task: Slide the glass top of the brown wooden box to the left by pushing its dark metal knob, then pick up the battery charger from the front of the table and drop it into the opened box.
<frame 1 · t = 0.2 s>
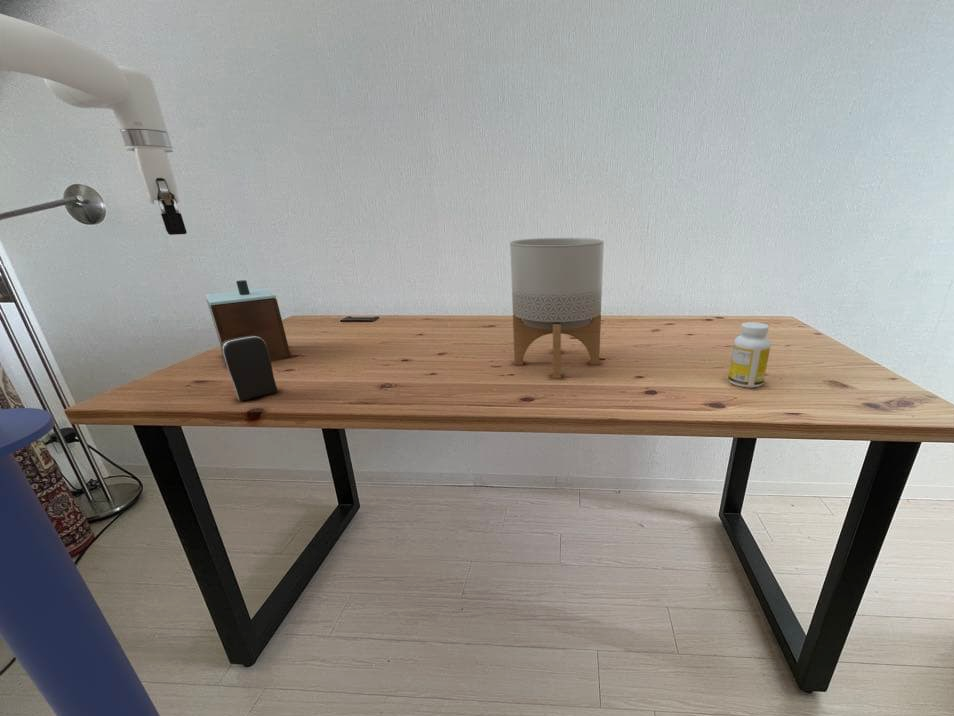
hand: (176, 233, 98), 28 cm above the table, tool pointing down, fingers open, 9 cm apart
brown wooden box: (257, 356, 110), on the table
planter: (556, 364, 102), on the table
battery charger: (257, 396, 88), on the table
pill bottle: (744, 383, 90), on the table
lid: (238, 289, 104), point 16 cm above the table, slide at 0.0 cm
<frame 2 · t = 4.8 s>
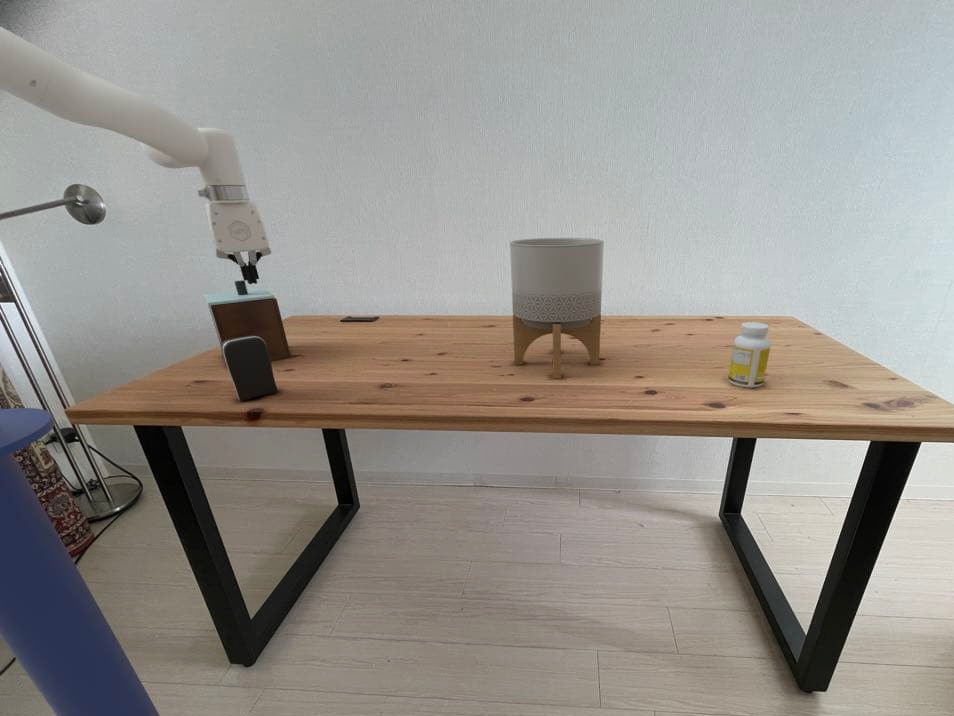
hand: (252, 283, 105), 17 cm above the table, tool pointing down, fingers closed
lid: (236, 289, 103), point 16 cm above the table, slide at 0.3 cm, touching gripper
everything else where it was.
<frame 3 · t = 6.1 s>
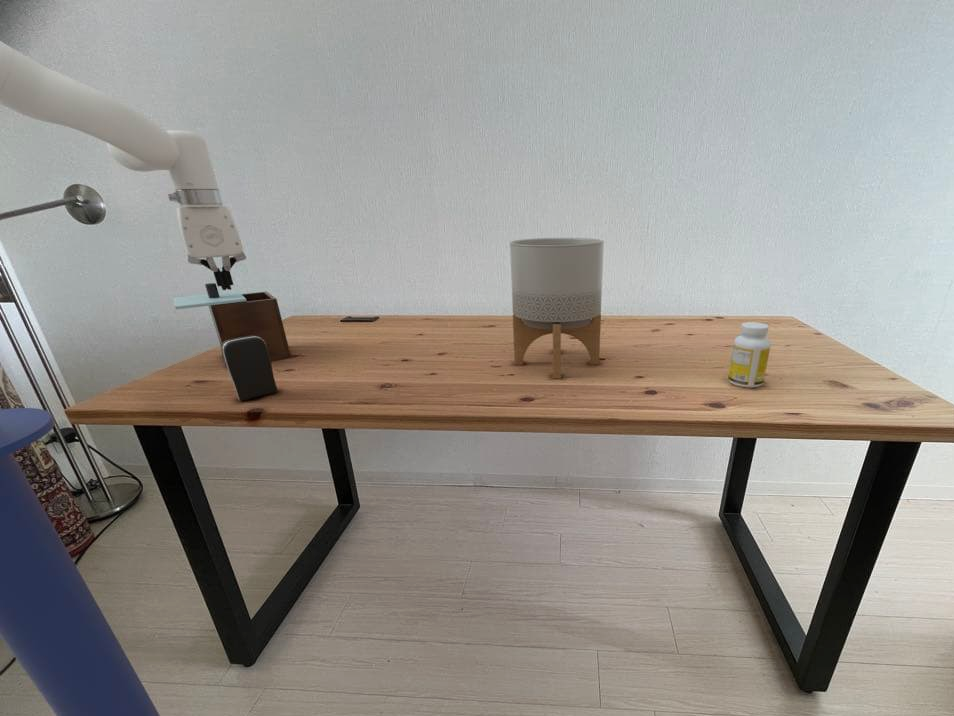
hand: (226, 288, 102), 16 cm above the table, tool pointing down, fingers closed
lid: (207, 292, 100), point 16 cm above the table, slide at 5.9 cm, touching gripper
everything else where it was.
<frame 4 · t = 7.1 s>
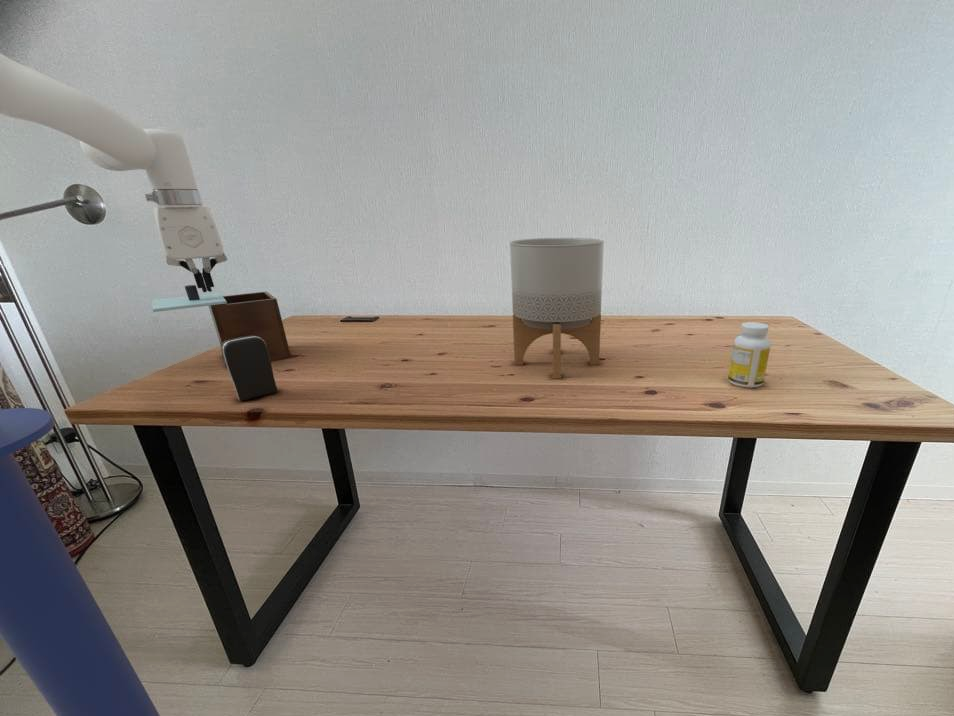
hand: (207, 291, 100), 16 cm above the table, tool pointing down, fingers closed
lid: (187, 294, 98), point 16 cm above the table, slide at 9.6 cm, touching gripper
everything else where it was.
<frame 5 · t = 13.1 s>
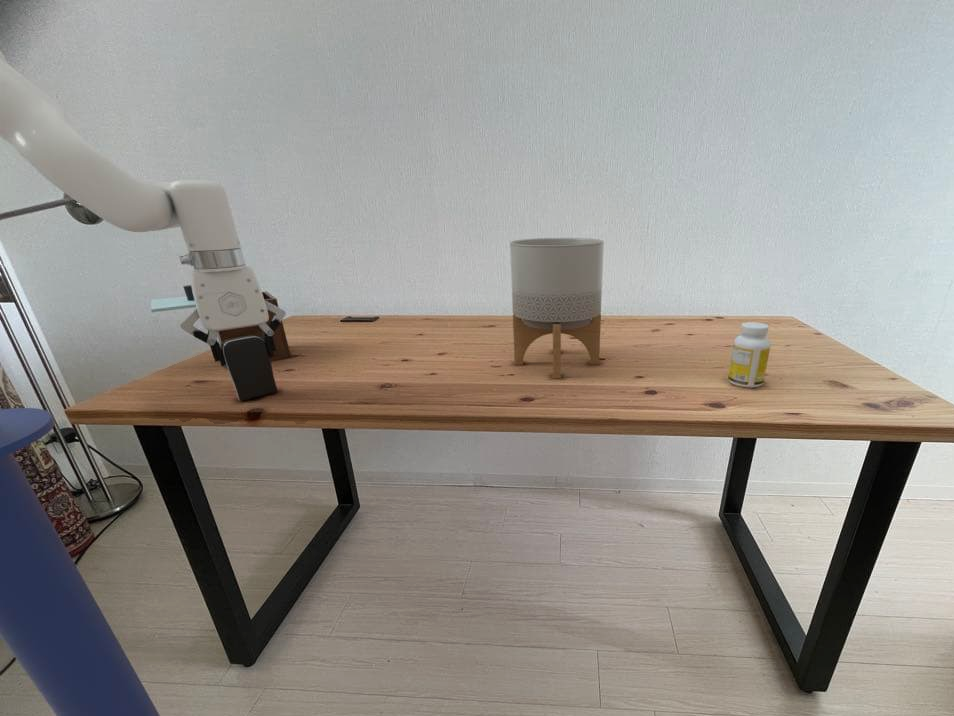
hand: (247, 359, 85), 7 cm above the table, tool pointing down, fingers closed on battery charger, 7 cm apart
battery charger: (257, 396, 88), on the table, touching gripper
lid: (185, 294, 98), point 16 cm above the table, slide at 9.8 cm
everything else where it was.
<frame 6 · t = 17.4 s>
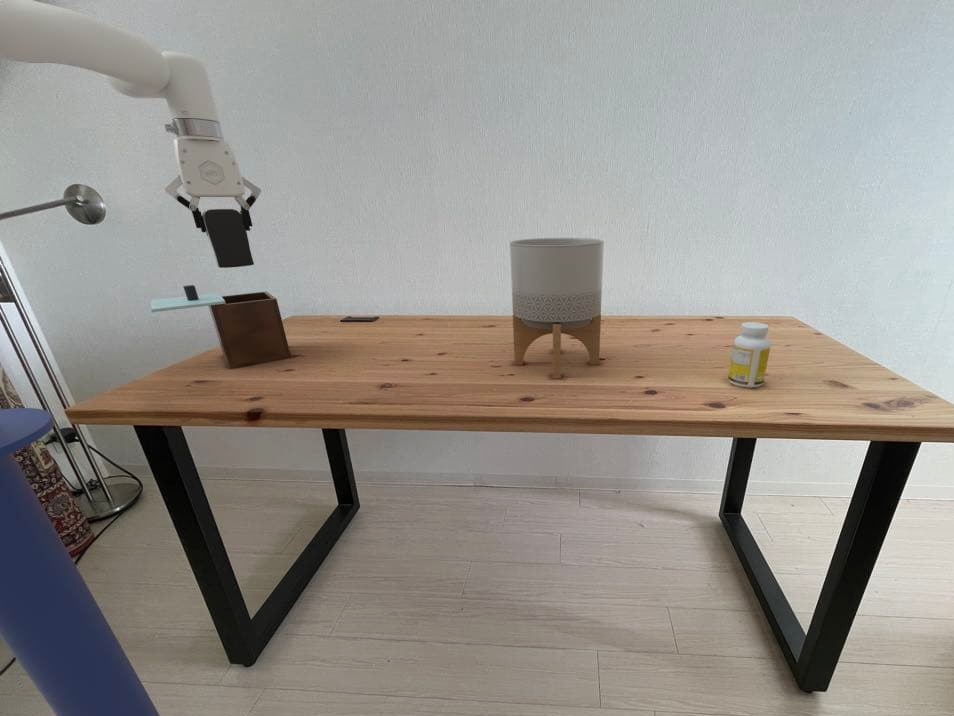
hand: (226, 230, 95), 29 cm above the table, tool pointing down, fingers closed on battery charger, 7 cm apart
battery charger: (235, 267, 98), point 21 cm above the table, touching gripper
everything else where it was.
when the fingers open (16 cm above the table, at t = 21.6 s): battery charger drops 8 cm, resting on brown wooden box.
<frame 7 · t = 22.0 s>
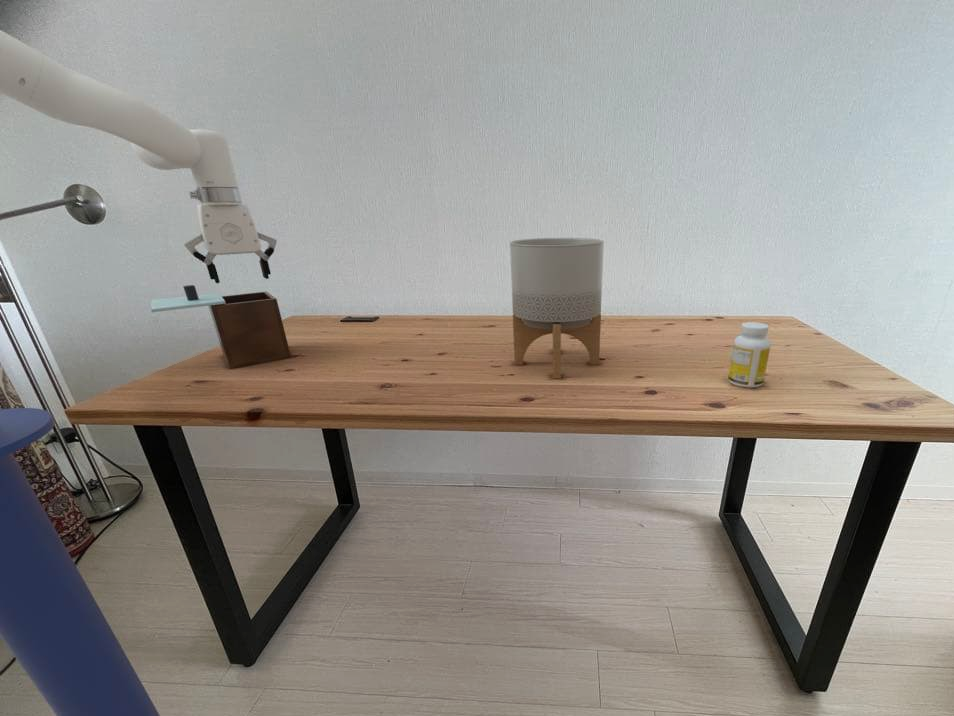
hand: (242, 280, 104), 18 cm above the table, tool pointing down, fingers open, 9 cm apart
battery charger: (262, 353, 111), point 1 cm above the table, touching brown wooden box
everything else where it was.
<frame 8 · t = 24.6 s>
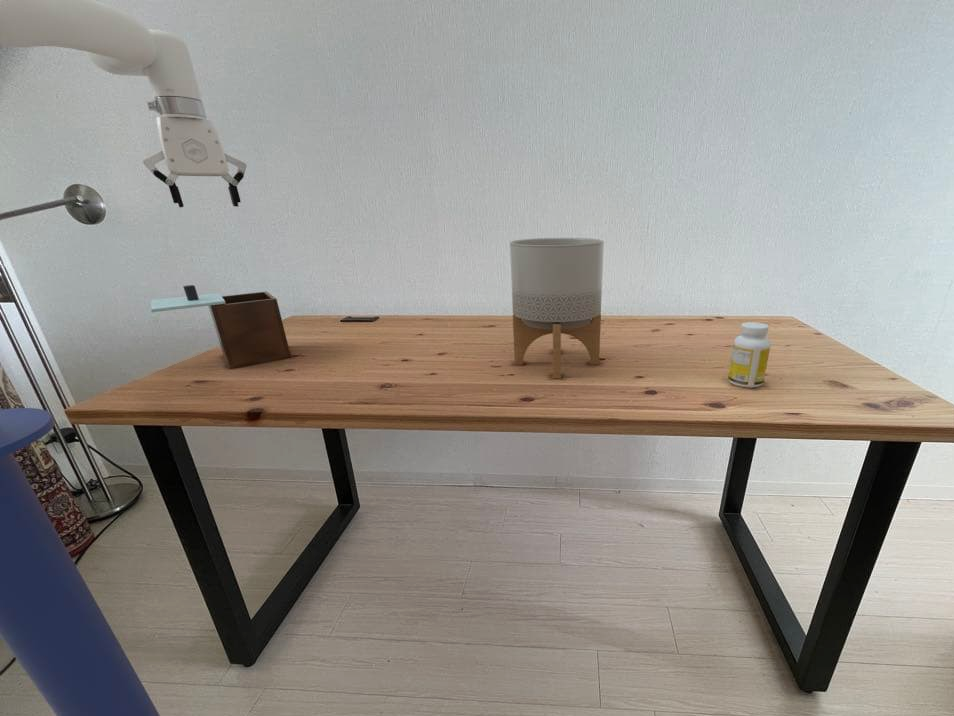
hand: (209, 206, 96), 33 cm above the table, tool pointing down, fingers open, 9 cm apart
nothing on the table moved.
at the end: lid slide at 9.8 cm; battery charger inside the target area on the brown wooden box (1.3 cm from its centre), point 0.6 cm above the brown wooden box's base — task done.
